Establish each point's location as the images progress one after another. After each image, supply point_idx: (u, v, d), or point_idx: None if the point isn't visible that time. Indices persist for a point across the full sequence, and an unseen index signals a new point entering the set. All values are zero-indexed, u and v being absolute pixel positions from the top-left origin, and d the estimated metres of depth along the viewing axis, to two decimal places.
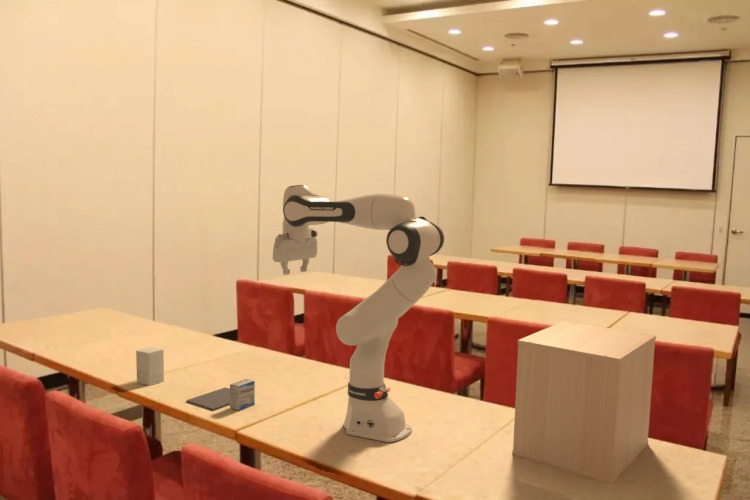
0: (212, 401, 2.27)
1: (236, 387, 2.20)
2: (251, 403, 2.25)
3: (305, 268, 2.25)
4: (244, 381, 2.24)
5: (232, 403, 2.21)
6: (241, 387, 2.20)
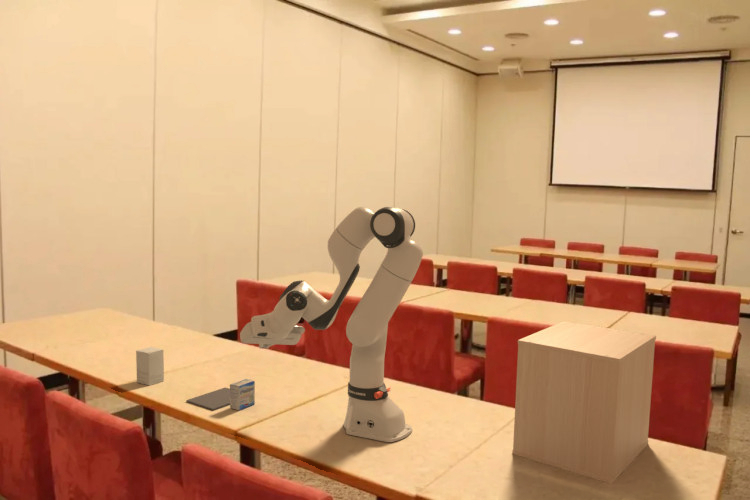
0: (212, 401, 2.27)
1: (236, 387, 2.20)
2: (251, 403, 2.25)
3: None
4: (244, 381, 2.24)
5: (232, 403, 2.21)
6: (241, 387, 2.20)
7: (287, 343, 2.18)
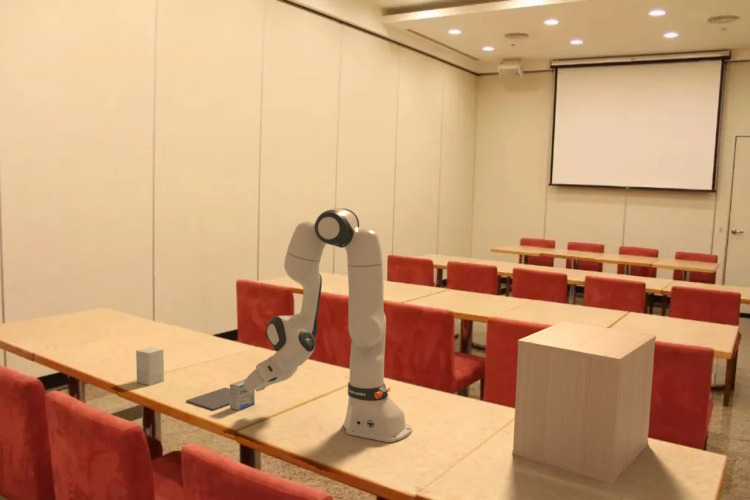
0: (212, 401, 2.27)
1: (236, 387, 2.20)
2: (251, 403, 2.25)
3: None
4: None
5: (232, 403, 2.21)
6: (241, 387, 2.20)
7: None
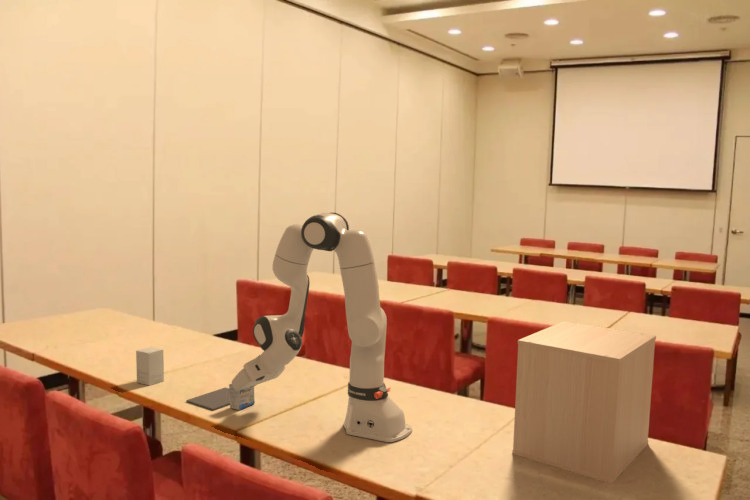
0: (212, 401, 2.27)
1: None
2: (251, 402, 2.25)
3: None
4: None
5: (232, 403, 2.21)
6: None
7: (272, 378, 2.24)
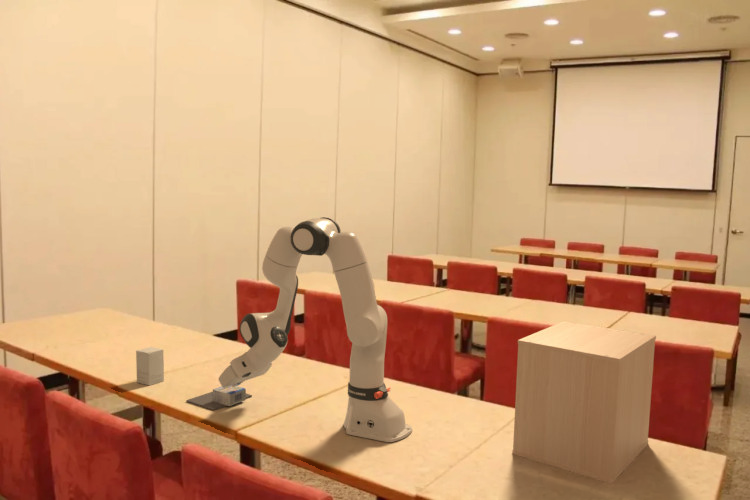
0: (212, 401, 2.27)
1: (213, 392, 2.26)
2: (240, 389, 2.27)
3: None
4: None
5: (225, 401, 2.23)
6: (216, 388, 2.27)
7: (259, 375, 2.27)
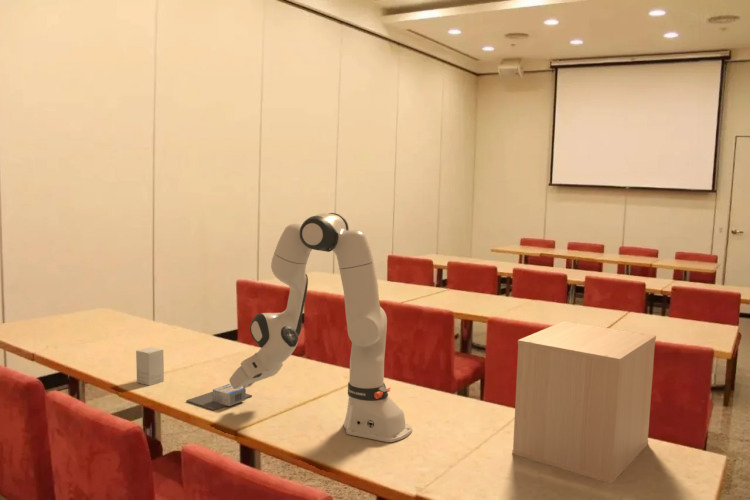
0: (212, 401, 2.27)
1: (213, 392, 2.26)
2: (240, 389, 2.27)
3: None
4: None
5: (225, 401, 2.23)
6: (216, 388, 2.27)
7: (270, 375, 2.25)
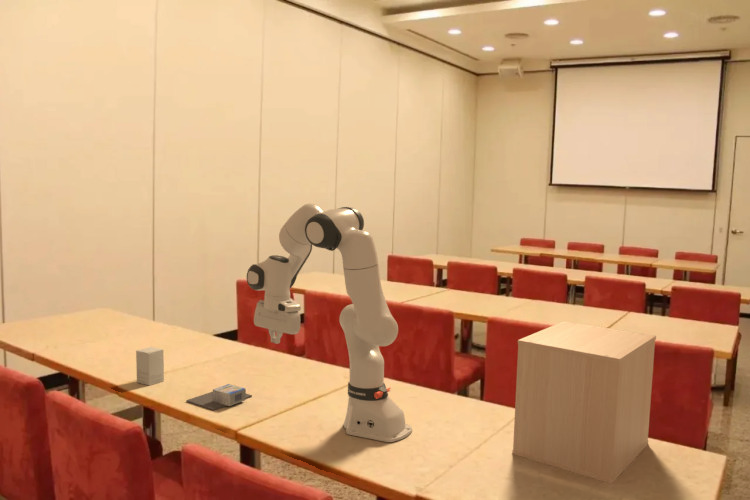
0: (212, 401, 2.27)
1: (213, 392, 2.26)
2: (240, 389, 2.27)
3: (274, 340, 2.22)
4: None
5: (225, 401, 2.23)
6: (216, 388, 2.27)
7: None
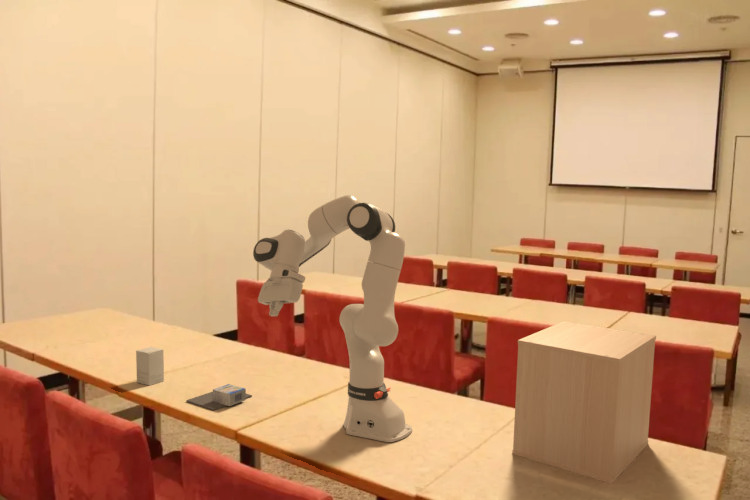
0: (212, 401, 2.27)
1: (213, 392, 2.26)
2: (240, 389, 2.27)
3: (273, 311, 2.12)
4: None
5: (225, 401, 2.23)
6: (216, 388, 2.27)
7: None
